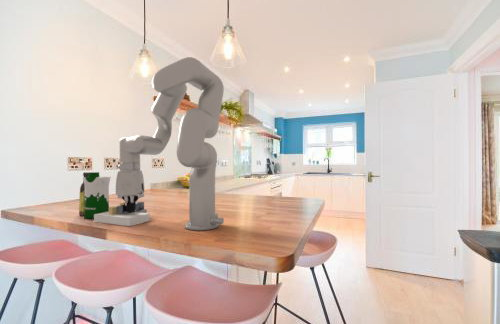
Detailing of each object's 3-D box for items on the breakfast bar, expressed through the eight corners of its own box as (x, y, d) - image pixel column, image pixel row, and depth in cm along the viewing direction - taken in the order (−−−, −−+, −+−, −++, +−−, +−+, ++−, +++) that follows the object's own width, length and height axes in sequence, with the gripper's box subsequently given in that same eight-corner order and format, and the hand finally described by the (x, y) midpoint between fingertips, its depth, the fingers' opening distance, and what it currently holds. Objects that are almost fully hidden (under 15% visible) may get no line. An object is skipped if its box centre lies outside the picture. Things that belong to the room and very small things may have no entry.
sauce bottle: (83, 216, 111) (84, 172, 111) (75, 215, 114) (75, 172, 114) (98, 213, 117) (98, 172, 117) (90, 212, 119) (90, 172, 120)
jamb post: (146, 216, 109) (146, 209, 109) (139, 218, 105) (139, 210, 106) (138, 215, 111) (138, 208, 111) (130, 217, 107) (130, 210, 107)
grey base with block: (149, 220, 101) (149, 206, 101) (129, 226, 92) (129, 210, 92) (115, 216, 109) (115, 203, 109) (94, 221, 100) (94, 207, 100)
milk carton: (80, 218, 105) (80, 172, 106) (95, 214, 114) (95, 172, 115) (99, 219, 104) (99, 172, 105) (113, 214, 113) (113, 172, 114)
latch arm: (138, 208, 111) (138, 199, 111) (146, 208, 110) (146, 199, 110) (115, 213, 100) (115, 203, 100) (123, 213, 98) (123, 203, 98)
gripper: (106, 168, 97) (107, 214, 97) (143, 167, 96) (144, 213, 95) (118, 167, 104) (119, 210, 104) (152, 167, 103) (153, 210, 103)
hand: (131, 212), depth 100 cm, fingers closed
